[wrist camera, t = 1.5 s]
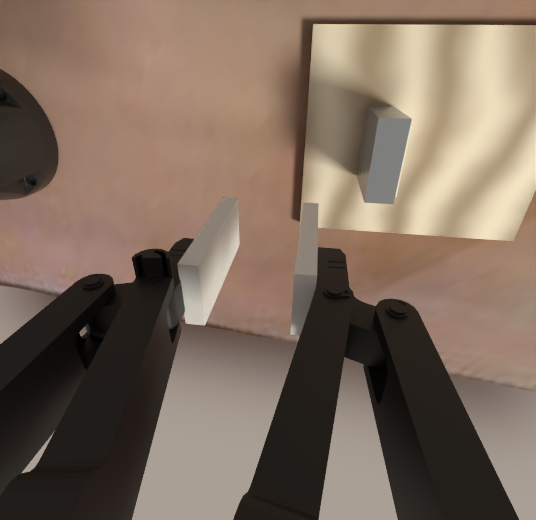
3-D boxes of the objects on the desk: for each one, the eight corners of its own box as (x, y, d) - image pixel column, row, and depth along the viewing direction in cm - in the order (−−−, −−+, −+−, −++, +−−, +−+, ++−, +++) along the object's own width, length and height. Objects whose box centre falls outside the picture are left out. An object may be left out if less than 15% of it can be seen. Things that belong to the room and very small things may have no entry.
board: (300, 222, 42) (299, 226, 41) (313, 24, 32) (313, 23, 31) (508, 236, 39) (513, 241, 38) (596, 26, 29) (606, 25, 28)
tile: (356, 175, 37) (364, 202, 30) (366, 105, 33) (378, 117, 27) (383, 177, 37) (398, 204, 30) (397, 105, 33) (417, 119, 26)
